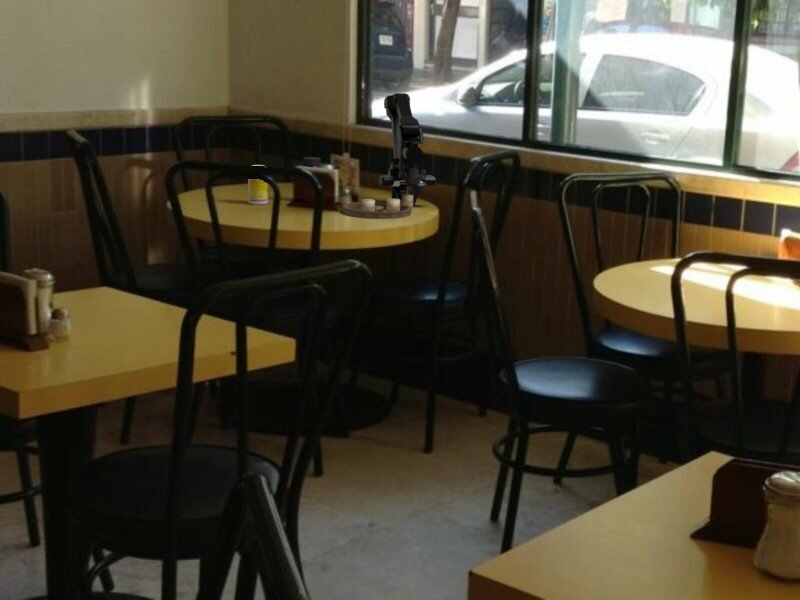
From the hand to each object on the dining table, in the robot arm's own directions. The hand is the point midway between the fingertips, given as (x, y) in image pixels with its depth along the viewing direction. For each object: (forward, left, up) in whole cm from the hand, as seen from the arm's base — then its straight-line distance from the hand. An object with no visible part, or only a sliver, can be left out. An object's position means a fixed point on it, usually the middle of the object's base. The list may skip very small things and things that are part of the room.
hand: (406, 205), depth 435 cm
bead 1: (+15, -17, 0) cm, 23 cm away
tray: (+11, -13, -1) cm, 17 cm away
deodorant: (-19, -29, -1) cm, 35 cm away
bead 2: (+15, -9, 0) cm, 18 cm away
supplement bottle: (-16, -48, -2) cm, 51 cm away
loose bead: (0, 0, -1) cm, 1 cm away
